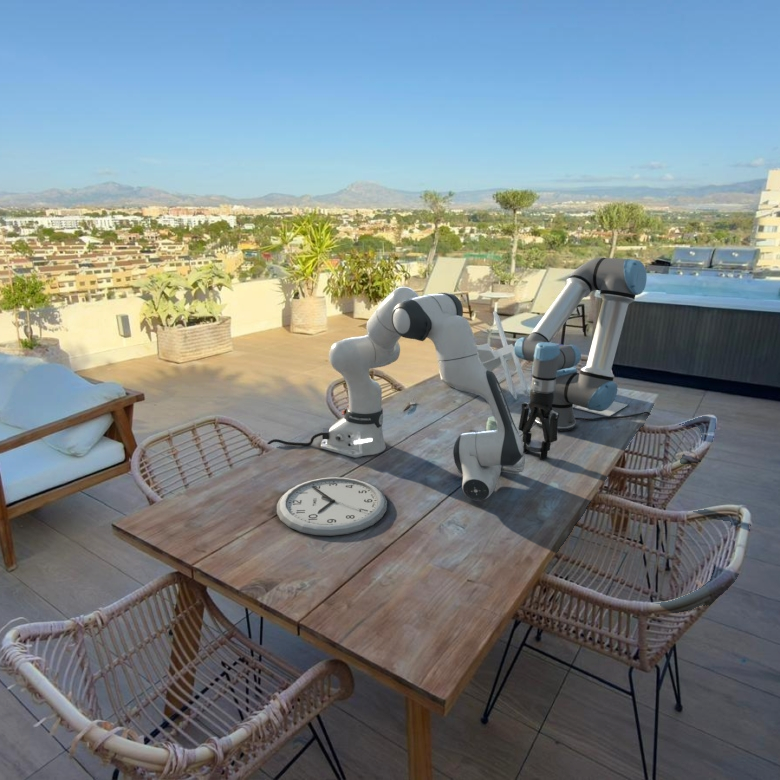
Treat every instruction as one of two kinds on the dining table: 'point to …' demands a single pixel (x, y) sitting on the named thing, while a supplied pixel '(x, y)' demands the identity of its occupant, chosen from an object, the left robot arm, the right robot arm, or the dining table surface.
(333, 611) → the dining table surface
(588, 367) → the right robot arm
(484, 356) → the white plastic object
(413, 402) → the fork
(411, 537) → the dining table surface
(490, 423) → the jar
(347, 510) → the wall clock
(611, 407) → the invitation card
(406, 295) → the left robot arm
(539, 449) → the lid
